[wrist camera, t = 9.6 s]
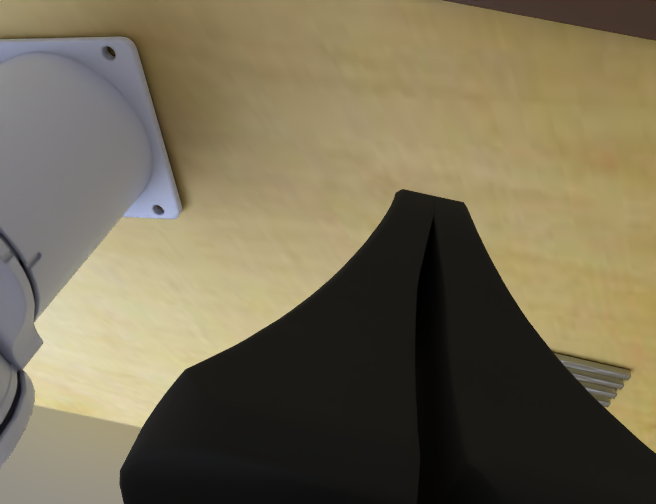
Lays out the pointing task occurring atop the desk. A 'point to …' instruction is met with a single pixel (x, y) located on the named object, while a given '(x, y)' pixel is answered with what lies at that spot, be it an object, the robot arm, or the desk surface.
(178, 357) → the desk surface
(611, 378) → the fork
